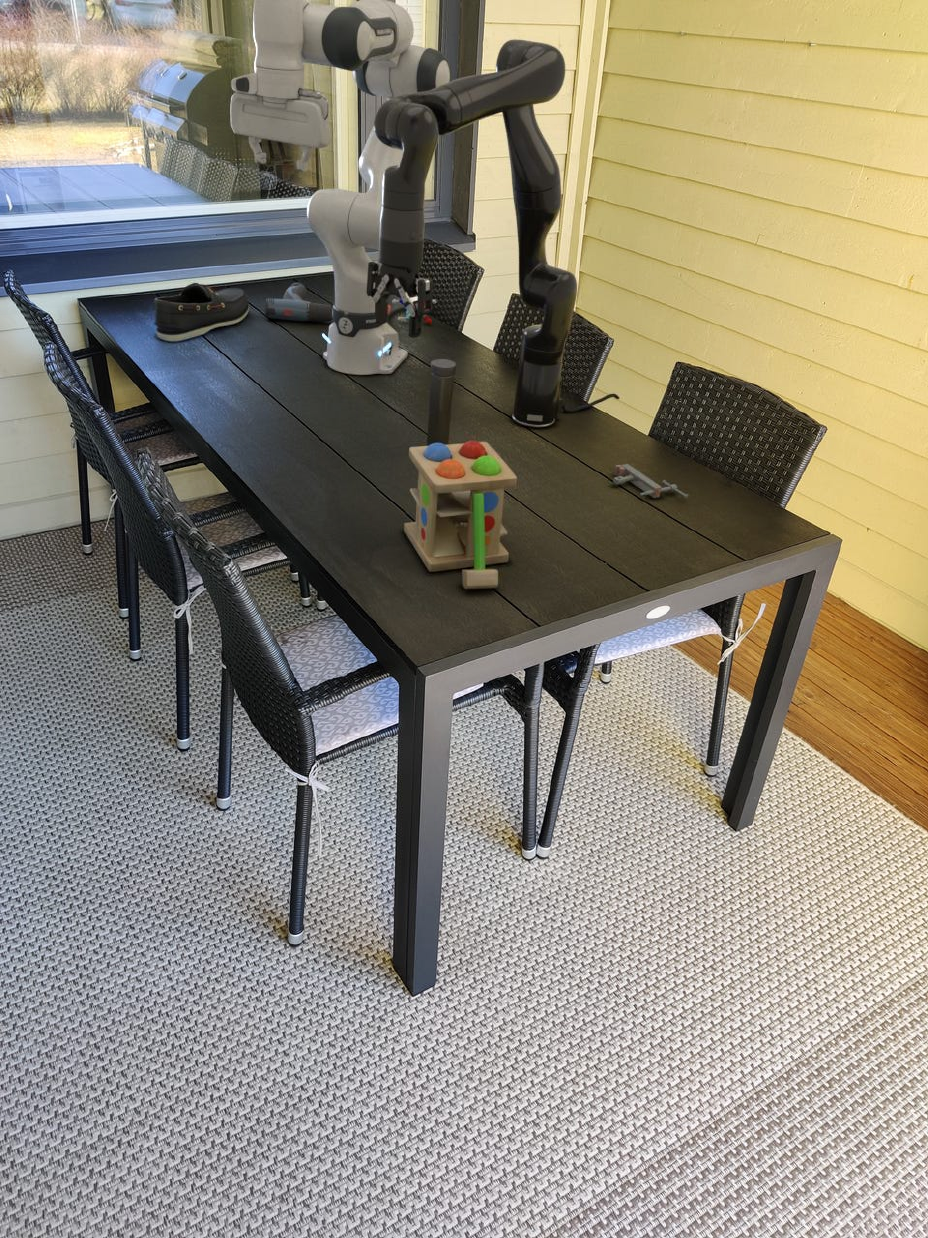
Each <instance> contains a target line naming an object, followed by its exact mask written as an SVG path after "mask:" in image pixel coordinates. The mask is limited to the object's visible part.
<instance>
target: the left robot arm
mask: <svg viewBox="0 0 928 1238" xmlns="http://www.w3.org/2000/svg"><path fill="white" fill-rule="evenodd" d="M252 11H253V13H252V14H253V15H252V17H253V18H252V20H253V21H252V27H253V28H252V29H253V30H252V31H253V40H254V44H255V51H256V52H255V59H254V72H250V73H247V74H244V75H240V76H237V77H234V78H232V79H231V82H230V83H231V89H232V91H234V92H233V94H232V95H231V98H230V126H231V129H232V131H233V133H234V134H235V135H241V136H246V137H248V144H249V146H250V148H251V150H252V153H253V154H254V163H255V164H261V165H263V164H266V163H267V153H266V152H263V149H262V147H261V144H260V143H261V142H262V140H268V141H274V142H280V143H284V144H285V143H286V144H291V145H297V146H300V152H301V153H302V156H301V158H300V159H298V160H296V161H295V162H296V171H297V172H303V173H305V172H308V170H309V161H310V159H311V157H312V155H313V153H314V149H324V148H327V147H328V146H329V144H330V143H331V141H332V140H331V139H332V136H331V135H332V133H331V124H330V115H329V114H330V103H329V100H328V99H327V97H326V96H325V95H324V94H323V92H321V91H318V90H315V91H314V90H310V89H305V67H304V64H305V63H306V64H312V65H319V66H324V67H325V66H326V67H332V68H337V69H340V70H345V71H349V72H352V74H353V79H354V82H355V84H356V86H357V88H358V89H359V90H360V91H361V92H363V93H365V94H367V95H370V96H371V97H372V96H374V97H377V96H378V97H381V98H384V99H386V101H387V100H389V99H391V98H394V97H397V96H401V95H405V94H411V93H416V92H424V91H429V90H432V89H434V88H436V87H439V86H441V85H443V84H446V83H448V82H451V66H450V63H449V59H448V58H447V56H446V55H445V54H444V53H443V52H441V51H439V50H437V49H435V48H432V47H423V46H419V45H415V44H412V41H413V38H414V33H415V31H414V30H415V29H414V22H413V19H412V17H411V15H410V13H409V12H408V11H407V10H406V8H404V7H403V6H401V5H399V4H397V3H396V2H393V1H390V0H355V2H352V3H351V4H349V5H348V6H337V5H336V6H335V5H328V4H321V3H320V4H319V3H310V1H309V0H253V10H252ZM402 156H403V150H399V149H395V148H391V147H388V146H386V145H384V144H383V143H382V142H381V141H380V140H379V139H378V138H377V136H376V133H375V130H374V126H373V127H372V129H371V131H370V134H369V135H368V138H367V140H366V143H365V145H364V147H363V149H362V152H361V154H360V156H359V158H358V171H359V175H360V177H361V178H362V180H363V182H364V183H365V184H366V185H367V186H368V187H369V188H368V190H367V191H366V192H358V191H353V190H347V189H344V188H343V189H342V188H323V189H322V188H321V189H318V190H316V191H315V192H314V193H313V194H312V196H311V197H310V198H309V200H308V203H307V207H306V218H307V222H308V225H309V227H310V229H311V231H312V232H313V233H314V234H315V235H316V236H317V238H319V240H320V241H321V243H322V244H323V246H324V248H325V250H326V252H327V254H328V256H329V259H330V262H331V266H332V271H333V279H334V281H333V282H334V303H333V305H332V307H333V311H332V314H333V320H332V323H331V324H330V325H329V326H328V336H326V335H325V333H322V334H321V335H322V337H323V339H324V340H325V341H326V342H327V346H326V347H327V348H326V351H324V352H323V353H322V358H323V359H324V360H326V362H327V363H326V365H327V366H328V367H329V368H330V369H332V370H334V371H336V372H339V373H341V374H342V373H343V374H347V375H356V376H369V375H379V374H380V375H389V374H392V373H393V372H394V371H395V370H396V369H397V368H398V367H399V366H400V365H401V364H402V363H403V361H405V360H406V359H407V357H408V356H409V354H408V353H409V351H407V350H405V349H403V348H401V347H399V345H400V344H399V343H400V342H399V341H400V340H399V339H400V337H399V333H398V331H397V330H396V329H394V328H393V327H392V325H391V324H390V322H389V319H390V318H391V317H392V316H393V315H394V314H397V313H400V312H403V311H407V310H406V308H405V306H404V305H403V306H401V307H398V308H394V309H393V310H391V308H392V306H391V305H390V304H388V317H387V323H385V324H380V325H379V324H377V323H376V319H375V302H374V300H373V298H372V297H371V296H368V295H367V276H368V264H369V262H373V261H372V260H371V259H370V257H369V256H368V253H367V252H366V250H365V248H367V249H372V250H377V251H379V229H380V214H381V208H382V182H383V174H384V171H385V170H386V169H387V168H388V167H390V166H394V165H400V162H401V159H402ZM382 280H383V278H382ZM373 288H375V283H374V285H373ZM413 304H414V303H413ZM414 307H415V308H416V305H415V304H414Z"/></svg>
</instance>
